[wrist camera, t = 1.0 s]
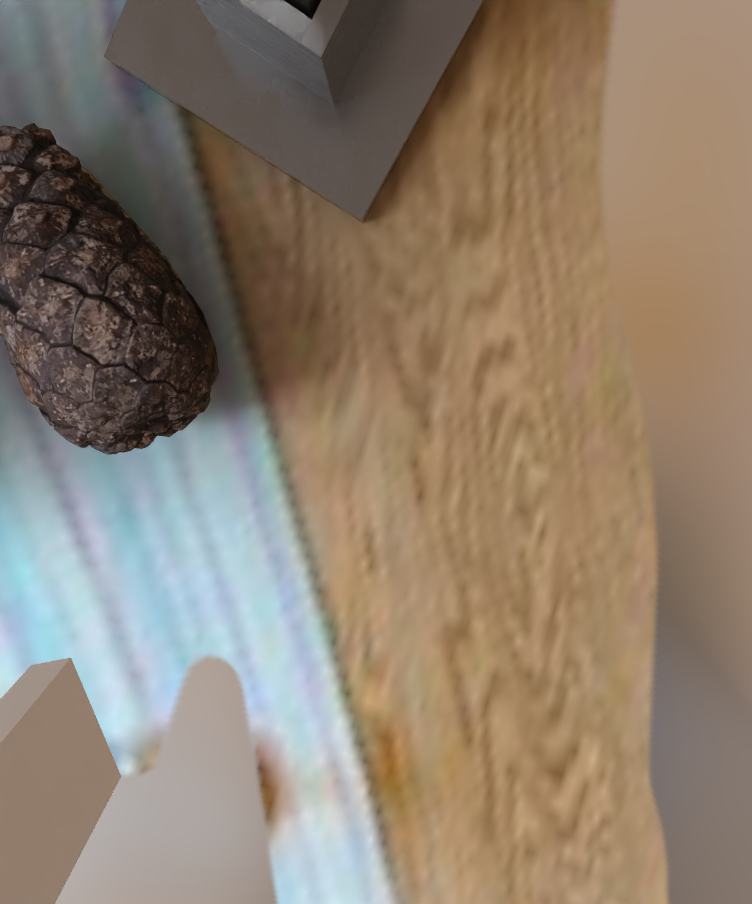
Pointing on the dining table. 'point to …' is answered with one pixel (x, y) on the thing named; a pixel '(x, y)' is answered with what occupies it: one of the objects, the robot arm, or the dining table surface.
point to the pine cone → (93, 306)
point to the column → (305, 6)
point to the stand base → (300, 78)
